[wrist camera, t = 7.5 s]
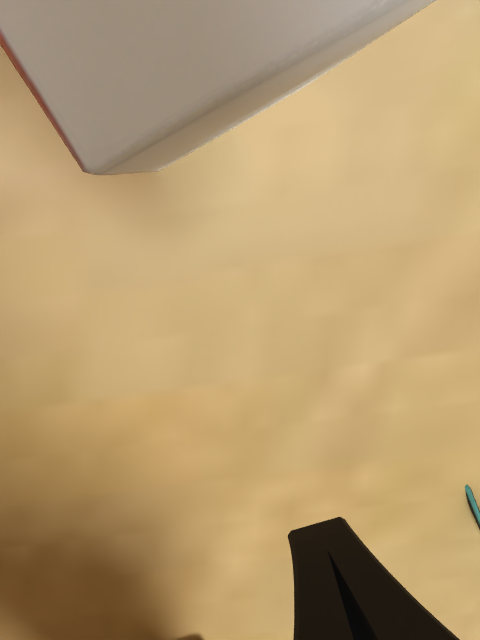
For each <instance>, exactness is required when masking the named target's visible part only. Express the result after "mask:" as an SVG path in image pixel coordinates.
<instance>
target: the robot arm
mask: <svg viewBox="0 0 480 640" xmlns="http://www.w3.org/2000/svg"><path fill="white" fill-rule="evenodd" d="M288 539H289V543H290V547H291V554H292V561H293V573H294V640H460V639H458V638H457V637H456V636H455V635H454V634H453V633H452V632H450V631H449V630H448V629H447V628H446V627H445V626H444V625H443V624H442V623H440V622H439V621H438V620H437V619H436V618H435V617H434V616H433V615H432V614H431V613H430V612H429V611H428V610H426V609H425V608H424V607H423V606H422V605H421V604H420V603H419V602H418V601H417V600H416V599H415V598H414V597H413V596H412V595H411V594H410V593H409V592H408V591H407V590H406V589H405V588H404V587H403V586H402V585H401V584H400V583H399V582H398V581H397V580H396V579H395V578H394V577H393V576H392V575H391V574H390V573H389V572H388V571H387V569H386V568H385V567H384V566H383V565H382V564H381V563H380V562H379V561H378V560H377V558H376V557H375V556H374V555H373V554H372V553H371V552H370V551H369V549H368V548H367V547H366V546H365V545H364V544H363V542H362V541H361V540H360V539H359V537H358V536H357V535H356V534H355V532H354V531H353V530H352V529H351V527H350V526H349V525H348V523H347V522H346V520H345V519H343V518H341V517H337V518H334V519H330V520H327V521H323V522H320V523H316V524H313V525H309V526H306V527H302V528H299V529H295V530H292V531H291V532H290V533H289V534H288Z"/></svg>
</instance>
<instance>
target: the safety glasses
mask: <svg viewBox="0 0 480 640" xmlns="http://www.w3.org/2000/svg"><path fill="white" fill-rule="evenodd" d="M465 490H466V495H467V500H468V503H469V506H470V508H471V511H472V513H473V515H474V518H475V520H476V522H477V524H478V527H479V529H480V511H479V508H478V506H477V504H476V501H475V499H474V496H473V493H472V490H471V489H470V487H469V486H468V485H466V486H465Z"/></svg>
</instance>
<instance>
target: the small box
mask: <svg viewBox="0 0 480 640" xmlns="http://www.w3.org/2000/svg"><path fill="white" fill-rule="evenodd" d="M434 1H436V0H0V45H1V46H2V48H3V49H4V51H5V52H6V54H7V55H8V57H9V59H10V60H11V62H12V63H13V65H14V66H15V68H16V69H17V71H18V72H19V74H20V75H21V77H22V78H23V80H24V82H25V83H26V85H27V86H28V88H29V89H30V91H31V92H32V94H33V95H34V97H35V98H36V100H37V102H38V103H39V105H40V106H41V108H42V109H43V111H44V112H45V114H46V115H47V117H48V118H49V120H50V121H51V123H52V125H53V126H54V128H55V129H56V131H57V132H58V134H59V135H60V137H61V138H62V140H63V141H64V143H65V145H66V146H67V148H68V149H69V151H70V152H71V154H72V155H73V157H74V158H75V160H76V161H77V163H78V165H79V166H80V168H81V169H82V171H83V172H86V173H90V174H94V175H117V174H124V173H141V172H154V171H159V170H161V169H163V168H165V167H167V166H168V165H170V164H172V163H174V162H175V161H177V160H179V159H181V158H182V157H184V156H186V155H188V154H189V153H191V152H193V151H195V150H196V149H198V148H200V147H202V146H203V145H205V144H207V143H209V142H210V141H212V140H214V139H215V138H217V137H219V136H221V135H222V134H224V133H226V132H228V131H229V130H231V129H233V128H234V127H236V126H238V125H240V124H241V123H243V122H245V121H247V120H248V119H250V118H252V117H253V116H255V115H257V114H259V113H260V112H262V111H264V110H266V109H267V108H269V107H271V106H273V105H274V104H276V103H278V102H279V101H281V100H283V99H285V98H286V97H288V96H290V95H292V94H293V93H295V92H297V91H298V90H300V89H302V88H303V87H305V86H307V85H308V84H310V83H311V82H313V81H314V80H316V79H317V78H319V77H321V76H322V75H324V74H325V73H327V72H328V71H330V70H331V69H333V68H335V67H336V66H338V65H339V64H341V63H342V62H344V61H345V60H347V59H348V58H350V57H351V56H353V55H354V54H356V53H357V52H358V51H360V50H361V49H363V48H364V47H366V46H367V45H369V44H370V43H372V42H373V41H375V40H376V39H378V38H379V37H381V36H382V35H384V34H385V33H387V32H388V31H390V30H391V29H393V28H394V27H396V26H397V25H399V24H401V23H402V22H404V21H405V20H407V19H408V18H410V17H411V16H413V15H414V14H416V13H417V12H419V11H420V10H422V9H423V8H425V7H426V6H428V5H430V4H431V3H433V2H434Z"/></svg>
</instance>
